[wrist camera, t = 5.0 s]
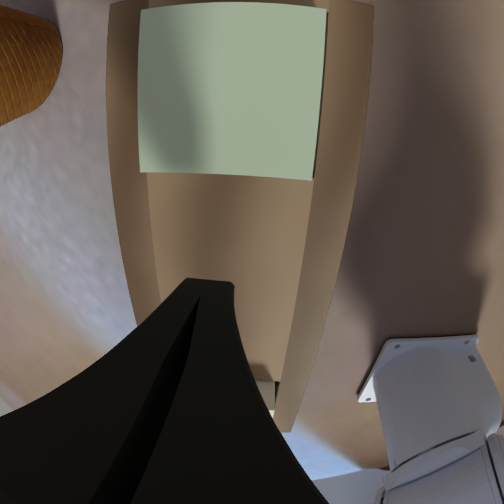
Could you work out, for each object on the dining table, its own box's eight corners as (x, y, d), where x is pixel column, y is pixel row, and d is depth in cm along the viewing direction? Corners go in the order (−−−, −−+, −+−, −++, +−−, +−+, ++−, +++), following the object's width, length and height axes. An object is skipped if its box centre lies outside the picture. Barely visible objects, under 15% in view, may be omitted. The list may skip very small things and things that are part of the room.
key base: (351, 22, 11) (373, 5, 8) (289, 398, 24) (290, 432, 21) (142, 17, 11) (110, 3, 8) (174, 387, 25) (166, 420, 22)
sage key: (313, 26, 10) (326, 8, 7) (303, 160, 13) (311, 180, 10) (168, 24, 10) (140, 9, 7) (165, 154, 13) (139, 172, 10)
